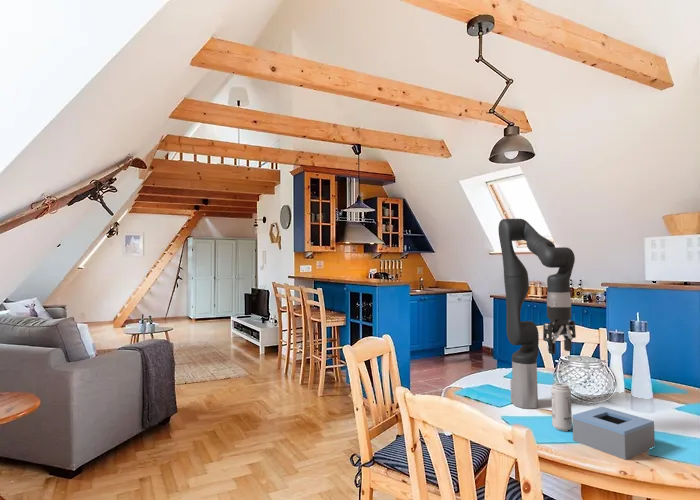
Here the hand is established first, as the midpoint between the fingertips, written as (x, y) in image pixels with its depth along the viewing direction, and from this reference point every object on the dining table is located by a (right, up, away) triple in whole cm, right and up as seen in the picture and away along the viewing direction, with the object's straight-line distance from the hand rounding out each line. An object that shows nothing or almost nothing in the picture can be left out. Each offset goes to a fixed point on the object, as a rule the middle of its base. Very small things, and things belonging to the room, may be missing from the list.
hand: (560, 352), depth 149 cm
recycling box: (+10, -25, -14) cm, 31 cm away
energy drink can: (0, -26, -1) cm, 26 cm away
